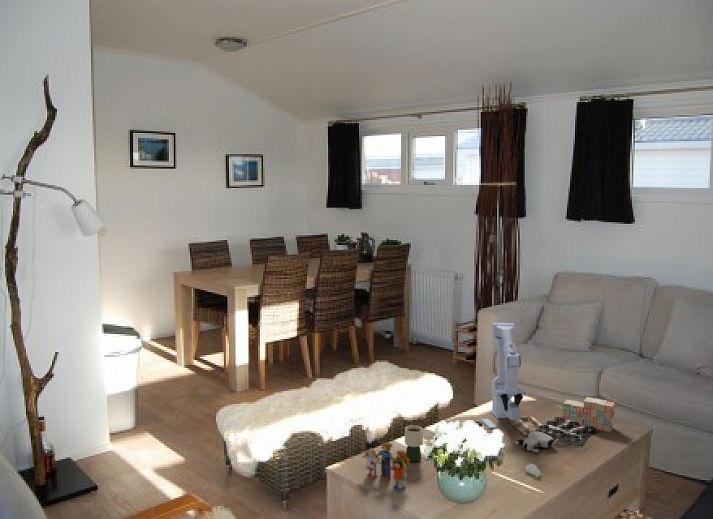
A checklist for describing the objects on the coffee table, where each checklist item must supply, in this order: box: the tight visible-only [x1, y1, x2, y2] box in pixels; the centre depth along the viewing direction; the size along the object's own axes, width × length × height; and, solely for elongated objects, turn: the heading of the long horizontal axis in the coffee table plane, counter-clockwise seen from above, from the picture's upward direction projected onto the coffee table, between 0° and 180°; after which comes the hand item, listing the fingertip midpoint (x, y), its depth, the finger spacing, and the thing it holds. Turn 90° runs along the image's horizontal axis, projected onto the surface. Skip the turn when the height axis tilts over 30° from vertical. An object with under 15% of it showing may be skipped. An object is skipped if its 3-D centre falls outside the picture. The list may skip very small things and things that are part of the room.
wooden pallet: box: [509, 415, 543, 437], centre depth 285 cm, size 16×12×3 cm
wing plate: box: [480, 418, 498, 429], centre depth 290 cm, size 10×4×1 cm, turn 11°
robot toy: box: [514, 430, 559, 453], centre depth 266 cm, size 12×4×15 cm
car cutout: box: [524, 462, 541, 478], centre depth 244 cm, size 15×7×4 cm, turn 42°
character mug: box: [404, 425, 424, 462], centre depth 252 cm, size 11×7×13 cm, turn 34°
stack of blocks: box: [562, 396, 616, 433], centre depth 290 cm, size 21×6×12 cm, turn 57°
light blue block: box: [501, 399, 522, 420], centre depth 282 cm, size 12×4×6 cm, turn 9°
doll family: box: [361, 442, 411, 492], centre depth 235 cm, size 21×10×13 cm, turn 46°
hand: (510, 410), depth 282 cm, fingers closed on light blue block, 4 cm apart
